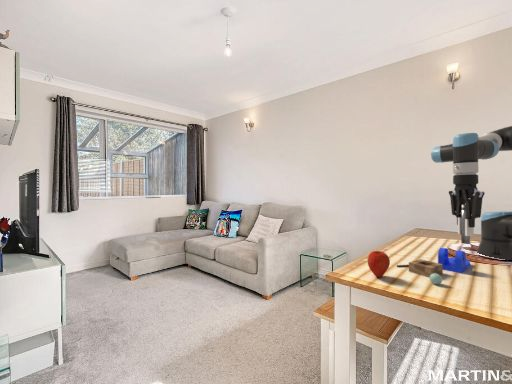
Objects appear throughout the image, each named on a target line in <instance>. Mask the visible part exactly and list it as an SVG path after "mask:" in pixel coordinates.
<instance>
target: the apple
mask: <svg viewBox="0 0 512 384" xmlns="http://www.w3.org/2000/svg"><path fill="white" fill-rule="evenodd" d="M390 261H391V260H390V256H388V254H387V253H385V252H384V251H381V250H373V251H372V252H370V253H369V254H368V257H367V266H368V269H369V270H370V271H371V273H372V274H373V275H374V276H375V277H376V278H381V277H383V275H385V273H386V272H387V271H388V269H389V268H390V265H391V264H390V263H391V262H390Z"/></svg>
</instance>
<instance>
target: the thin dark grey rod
mask: <svg viewBox="0 0 512 384" xmlns="http://www.w3.org/2000/svg"><path fill="white" fill-rule="evenodd" d="M396 267H397V268H402V267H403V268H404V267H407V268H409V264H397V265H396Z"/></svg>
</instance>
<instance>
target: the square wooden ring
mask: <svg viewBox="0 0 512 384" xmlns="http://www.w3.org/2000/svg"><path fill="white" fill-rule="evenodd" d="M408 265H409V266H408V272H409V273H413V274H416V275H419V276H423V277H427V278H430V275H431V274H434V273H436V274H439V275H440V276H441V275H442V274H444V273H443V272H444V271H443V264H439V263H438V262H434V261H431V260H430V261H429V260H426V259H422V258H421V259H420V258H419V259H417V260H413V261H409V262H408Z"/></svg>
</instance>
